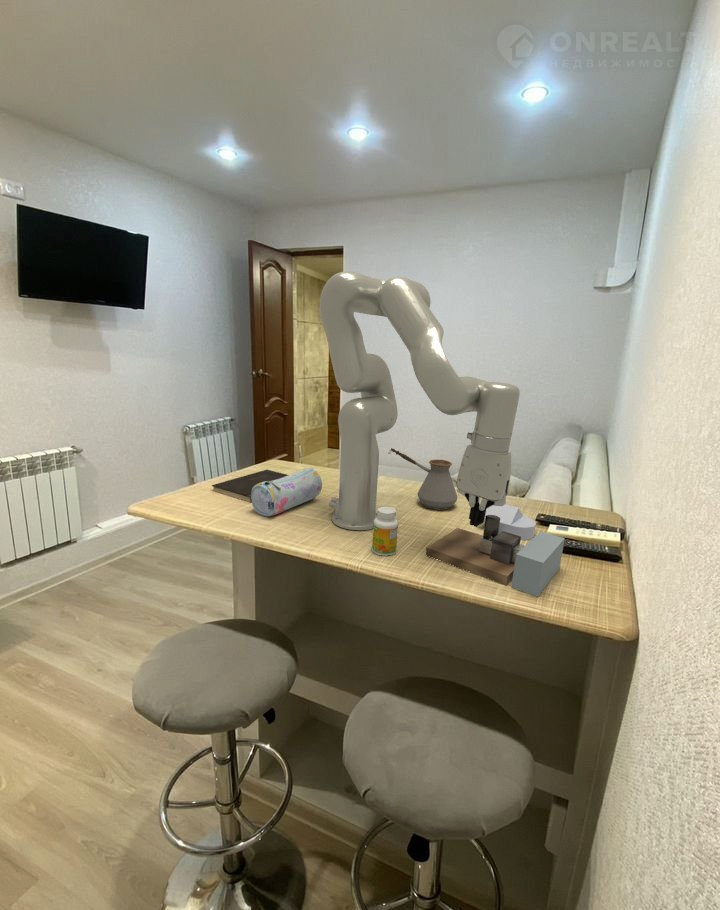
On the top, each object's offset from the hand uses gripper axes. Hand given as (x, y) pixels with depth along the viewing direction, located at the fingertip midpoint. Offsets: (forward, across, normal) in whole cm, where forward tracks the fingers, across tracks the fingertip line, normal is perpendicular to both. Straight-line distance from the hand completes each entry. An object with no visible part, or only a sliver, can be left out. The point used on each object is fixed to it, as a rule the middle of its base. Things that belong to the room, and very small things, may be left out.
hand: (475, 524), depth 97 cm
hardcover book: (+12, -68, -3) cm, 69 cm away
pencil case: (+11, -50, -8) cm, 52 cm away
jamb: (+7, +14, 0) cm, 16 cm away
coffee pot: (+9, -26, +22) cm, 35 cm away
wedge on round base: (+8, +1, +20) cm, 21 cm away
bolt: (+5, +8, 0) cm, 10 cm away
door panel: (+7, +2, 0) cm, 8 cm away
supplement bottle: (+9, -15, -12) cm, 21 cm away
